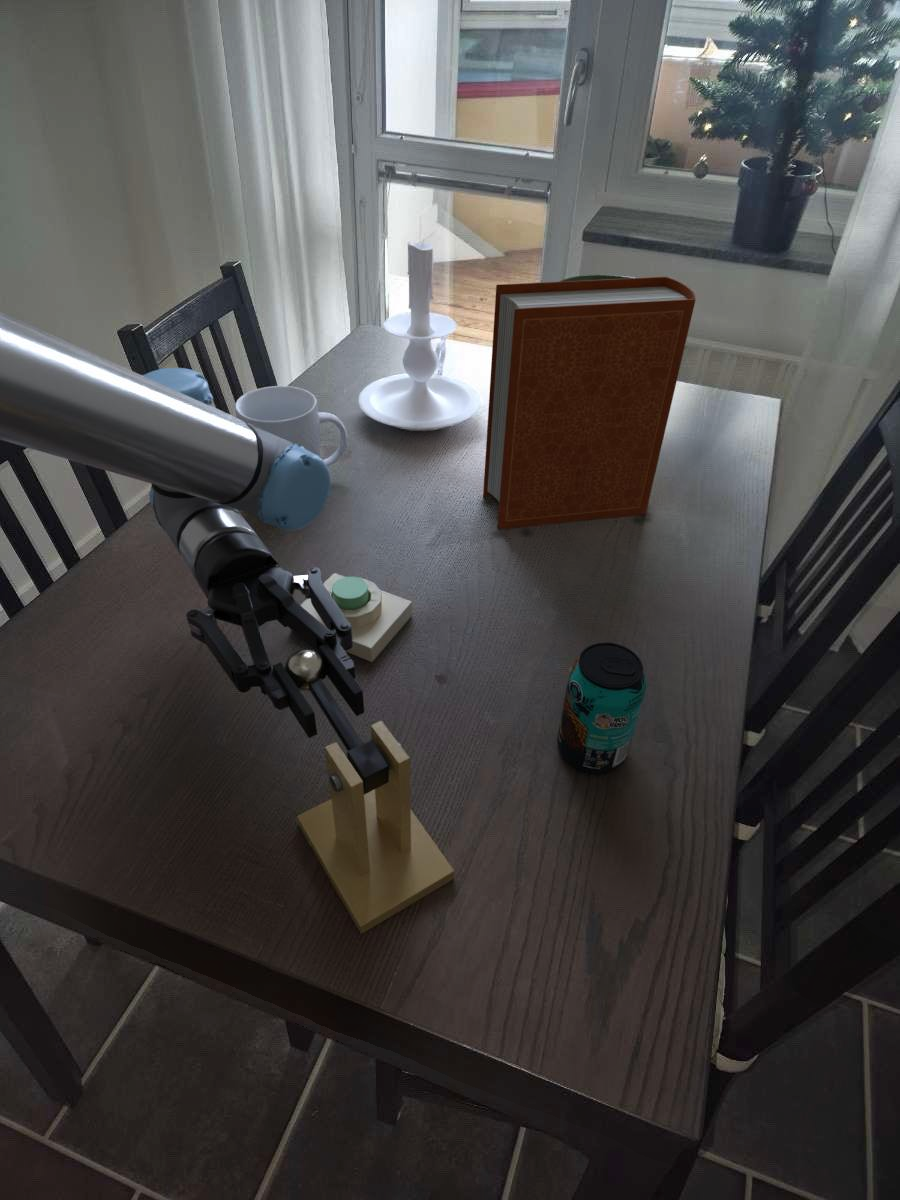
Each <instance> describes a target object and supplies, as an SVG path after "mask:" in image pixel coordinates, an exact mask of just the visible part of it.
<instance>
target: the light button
mask: <svg viewBox="0 0 900 1200" xmlns="http://www.w3.org/2000/svg"><path fill="white" fill-rule="evenodd" d="M361 578H362V577H359V576H351V575H350V576H344V578H341V579H339V580H337V581H336V582H335V583H334V584H333V587H332V592H333V599H334V601H335V602H336V604H337V605H338V607H339V608H341V609H343V610H356V609H359V608H361V607H363V606H365V605H366V603H367V602H368V585H367V583H366V582H365V581H364V580H363V579H364V578H363V579H361Z"/></svg>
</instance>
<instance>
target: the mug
mask: <svg viewBox="0 0 900 1200" xmlns="http://www.w3.org/2000/svg"><path fill="white" fill-rule="evenodd" d="M234 411H235V415H236V416H235V417H236V418H239V419H241V420H243V421H245V422H247V423H249V424H251V425H253V426H256V427H258V428H260V429H262V430H265V431H267V432H269V433H271V434H274V435H276V436H278V437H280V438H283V439H285V440H287V441H289V442H291V443H293V444H298V445H300V446H303V447H304V448H305V449H306V450H308V451H310V452H312V453H313V454H315V455H317V456H319V457H320V456H321V455H320V454H321V427H320V424H323V423H332V424H334V425H335V426H336V427H337V429H338V431H339V435H340V439H339V444H338V447H337V449H336V450H335V452H334V453H332V454H331V455H330V456H329V457H326V458H325V459H322V460H323V461H324V462H325V464H326V465H327V467H330V466H333V465H334V464H336V463H337V462H338V461H340V460H341V458H342V457H344V456H343V455H344V454H345V453H346V450H347V446H348V434H347V430H346V427H345V424H344V423H343V422H342V420H341V419H340V418H339V417H338V416H337V415H335V414H333V413H329V412H325V411H324V412H323V411H321V412H320V411H319V409H318V401H317V397H316V396H315V395H314V394H313V393H312V392H310V391H309V390H307V389H304V388H301V387H296V386H289V385H271V386H265V387H259V388H256V389H252V390H250V391H248V392H245V393H244V394H242V395H241V396H240V397H239V398H238V399H237V400H236V402H235V404H234ZM320 458H321V457H320Z"/></svg>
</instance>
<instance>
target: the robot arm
mask: <svg viewBox="0 0 900 1200" xmlns="http://www.w3.org/2000/svg"><path fill="white" fill-rule="evenodd" d="M213 400H214V397H213V394H212V392H211V390H210V385H209V383H208V380H207V379H206V378H205V376H204V375H203V374H202V373H200V372H199V371H196V370H194V369H190V368H186V367H167V368H159V369H156V370H155V369H154V370H153V371H149V372H147V373H145V374H140V373H137V372H135V371H133V370H131V369H129V368H127V367H124V366H122V365H120V364H117V363H115V362H113V361H111V360H109V359H106V358H105V357H102V356H100V355H97V354H96V353H93V352H91V351H89V350H87V349H84V348H82V347H80V346H78V345H76V344H73V343H71V342H69V341H67V340H64V339H62V338H60V337H58V336H56V335H53V334H51V333H48V332H46V331H45V330H42V329H40V328H38V327H35V326H33V325H30V324H28V323H26V322H24V321H22V320H19V319H17V318H16V317H13V316H10V315H8V314H6V313H4V312H2V311H0V441H3V442H6V443H10V444H14V445H17V446H20V447H23V448H27V449H31V450H34V451H37V452H41V453H44V454H48V455H51V456H55V457H59V458H62V459H65V460H69V461H72V462H75V463H79V464H83V465H86V466H89V467H93V468H96V469H100V470H103V471H107V472H110V473H113V474H116V475H120V476H123V477H128V478H130V479H135V480H138V481H141V482H145V483H148V484H151V486H150V490H149V504H150V506H151V508H152V510H153V512H154V517H155V520H156V521H157V523H158V526H160V527H161V528H162V529H163V531H165V533H166V535H167V537H169V539H170V541H171V542H172V544H173V546H174V547H175V549H176V550H177V552H178V553H179V555H180V556H181V558H182V560H183V561H184V563H185V564H186V566H187V568H188V570H189V571H190V573H191V574H192V576H193V578H194V579H195V580H196V582H197V584H198V586H199V587H200V589H201V591H202V593H203V594H204V596H205V598H206V599H207V606H206V607H204V608H203V609H202V610H198V609H190V610H188V611H187V612H186V614H185V617H186V621H187V624H188V628H189V631H190V635H191V637H192V638H194V639H196V640H198V641H199V642H201V643H202V644H204V645H206V647H207V648H208V650H209V651H210V652H211V654H212V655H213V657H214V658H215V660H216V661H217V662H218V664H219V665H220V667H221V668H222V670H223V671H224V672H225V674H226V675H227V676H228V678H229V679H230V681H231V682H232V684H233V685H234V687H235V688H236V689H237V691H238V692H240V693H247V692H249V691H250V690H252V688H255V687H256V688H257V687H259V688H260V691H261V693H262V694H263V695H265V696H267V697H268V698H269V700H270V702H271V703H272V705H273V706H274V708H275V709H276V710H278V711H282V710H284V709H287V708H289V709H290V711H291V712H292V714H293V716H294V717H295V719H296V720H297V722H298V724H299V726H301V728H302V730H303V731H304V733H305V735H306V736H307V738H308V739H310V738H313V737H315V736H317V735H318V729H317V728H318V727H317V721H316V715H315V711H314V710H313V708H312V707H311V705H310V703H309V702H308V701H307V699H306V698H305V696H304V694H303V693H302V691H300V690H299V689H298V687H297V686H296V684H295V683H294V681H293V680H292V678H291V677H290V675H289V674H288V672H287V671H286V669H285V665H284V664H283V663H282V661H281V662H278V663H276V664H273V665H272V663H271V660H270V657H269V654H268V650H267V647H266V645H265V642H264V640H263V636H262V633H261V630H260V627H261V626H263V625H264V624H266V623H268V622H274V621H277V622H278V623H280V625H282V627H284V628H287V627H288V628H289V629H290V630H291V632H293V633H294V634H296V636H298V637H299V638H300V639H301V640H302V641H303V642H305V643H306V644H307V645H308V646H309V647H310V648H312V650H314V651H316V652H318V653H319V654H321V655H322V656H323V658H324V659H325V661H326V664H327V675H326V677H327V678H328V679H329V681H330V682H331V683H332V684H333V686H334V687H335V689H336V690H337V691H338V693H339V694H340V696H341V697H342V698H343V700H344V701H345V703H346V704H347V706H348V707H349V708H350V710H351V711H352V712H353V714H354V715H355V717H358V716H360V715H363V714H365V703H364V691H363V689H362V687H360V685H359V683H357V681H356V672H355V671H356V669H355V662H354V661H353V658H351V657H350V656H349V654H348V652H346V651H345V650H349V649H351V648H352V647H353V641H352V629H351V624H350V623H349V621H348V620H347V618H346V617H345V615H344V614H343V612H342V611H341V610H340V608H339V607H338V605H337V604H336V602H335V601H334V599H333V598H332V597H331V595H330V594H329V592H328V591H327V589H326V588H325V586H324V585H323V582H322V574H321V569H320V568H319V567H317V566H313V567H309V568H308V570H307V574H302V575H294V574H293V573H292V572H291V571H289V570H287V569H285V568H282V567H281V566H280V564H279V562H278V560H277V559H276V557H274V555H273V554H272V553H271V551H270V550H269V549H268V547H267V546H266V544H264V542H263V541H262V540H261V538H260V537H259V536H258V534H257V533H256V532H255V530H254V529H253V528H252V526H251V525H250V524H249V523H248V521H247V520H246V519H245V517H244V516H243V515H242V514H241V512H244V513H246V514H249V515H252V516H254V517H256V518H257V519H260V521H261V522H262V523H263V524H265V525H272V526H274V527H276V528H278V529H280V530H283V531H287V532H295V531H299V530H302V529H305V528H306V527H308V526H309V525H311V524H312V523H314V521H316V520H317V518H318V517H319V516H320V515H321V513H322V511H323V510H324V509H325V504H326V502H327V500H328V498H329V496H330V493H331V486H332V485H331V473H330V470H329V468H328V467H329V466H328V467H327V465H326V464H325V462H324V461H323V460H324V459H322V457H319V456H317V455H315V454H313V453H312V452H310V451H308V450H306V449H305V448H304V447H303V446H300V445H298V444H293V443H291V442H289V441H287V440H285V439H283V438H280V437H278V436H276V435H274V434H271V433H269V432H267V431H265V430H262V429H260V428H258V427H256V426H253V425H251V424H249V423H247V422H245V421H243V420H241V419H239V418H237V417H236V416H234V415H232V414H230V413H228V412H227V411H223V410H222V409H219V408H217V407H215V406H214V403H213V402H214V401H213ZM240 511H241V512H240ZM296 590H298V591H300V593H301V594H302V595H303V596H304V598H305V600H306V599H310V598H311V603H312V605H313V607H314V609H315V610H316V612H317V613H318V615H319V616H320V618H321V619H322V621H323V622H324V624H325V625H326V627H325V626H324V625H323V624H322V623H321V622H319V621H318V620H317V619H316V618H315V617H313V616H312V615H311V614H310V613H309V612H308V611H306V610H305V609H304V608H303V607H302V606H300V605H301V604H299V603H298V602H297V601H296V600H295V598H294V594H295V591H296ZM218 620H219V621H221V622H225V623H229V624H232V625H236V626H239V627H241V630H242V633H243V636H244V640H245V642H246V644H247V647H248V651H249V655H250V657H251V660H252V663H253V664H251V665H248V664H247V663H246V662H245V660H244V659H243V658H242V656H241V654H240V653H239V652H238V650H236V648H235V647H234V645H233V643H232V642H231V641H230V640H229V638H228V636H226V634H225V633H224V632H223V630H222V629H221V627H220V626H219V625H218V622H217V621H218Z"/></svg>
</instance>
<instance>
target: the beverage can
mask: <svg viewBox="0 0 900 1200" xmlns="http://www.w3.org/2000/svg"><path fill="white" fill-rule="evenodd" d="M566 682H567V683H566V687H565V692H564V698H563V703H562V709H561V714H560V720H559V726H558V732H557V736H556V737H557V738H556V742H557V748H558V750H559V752H560V754H561V755H562V757H563V758H564V759H565V760H566V762H568V763H569V764H570V765H572V766H573V767H575V768H577V769H580V770H581V771H585V772H588V773H596V774H601V773H602V774H603V773H608V772H611V771H614V770H615V769H618V768H619V767H620V766H622V765H623V764H624V763H625V761H626V759H627V757H628V754H629V750H630V747H631V743H632V740H633V737H634V733H635V729H636V726H637V722H638V718H639V716H640V712H641V709H642V705H643V702H644V698H645V694H646V692H647V685H648V684H647V677H646V675H645V673H644V665H643V662H642V660H641V659H640V657H639V656H638V655H637V653H635V652H634V651H633V650H631V649H630V648H628V647H626V646H624V645H621V644H618V643H615V642H597V643H592V644H591V645H588V646H586V647H585V648H584V649H583V650H582V651H581V653H580V655H579V656H578V657H577V658H576V659H575V660H574V661H573V662H572V664H571V665H570V668H569V671H568V677H567V681H566Z"/></svg>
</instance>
